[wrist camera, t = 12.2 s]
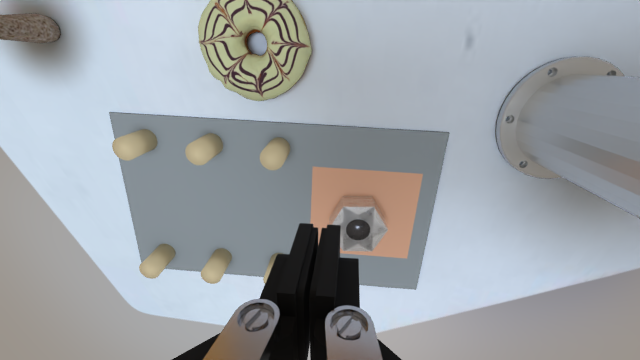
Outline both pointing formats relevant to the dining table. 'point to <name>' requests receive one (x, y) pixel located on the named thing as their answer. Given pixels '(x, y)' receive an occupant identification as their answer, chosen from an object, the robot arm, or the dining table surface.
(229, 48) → the decorated donut
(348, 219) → the hex nut
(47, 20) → the mushroom
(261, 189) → the spacer board
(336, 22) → the dining table surface
